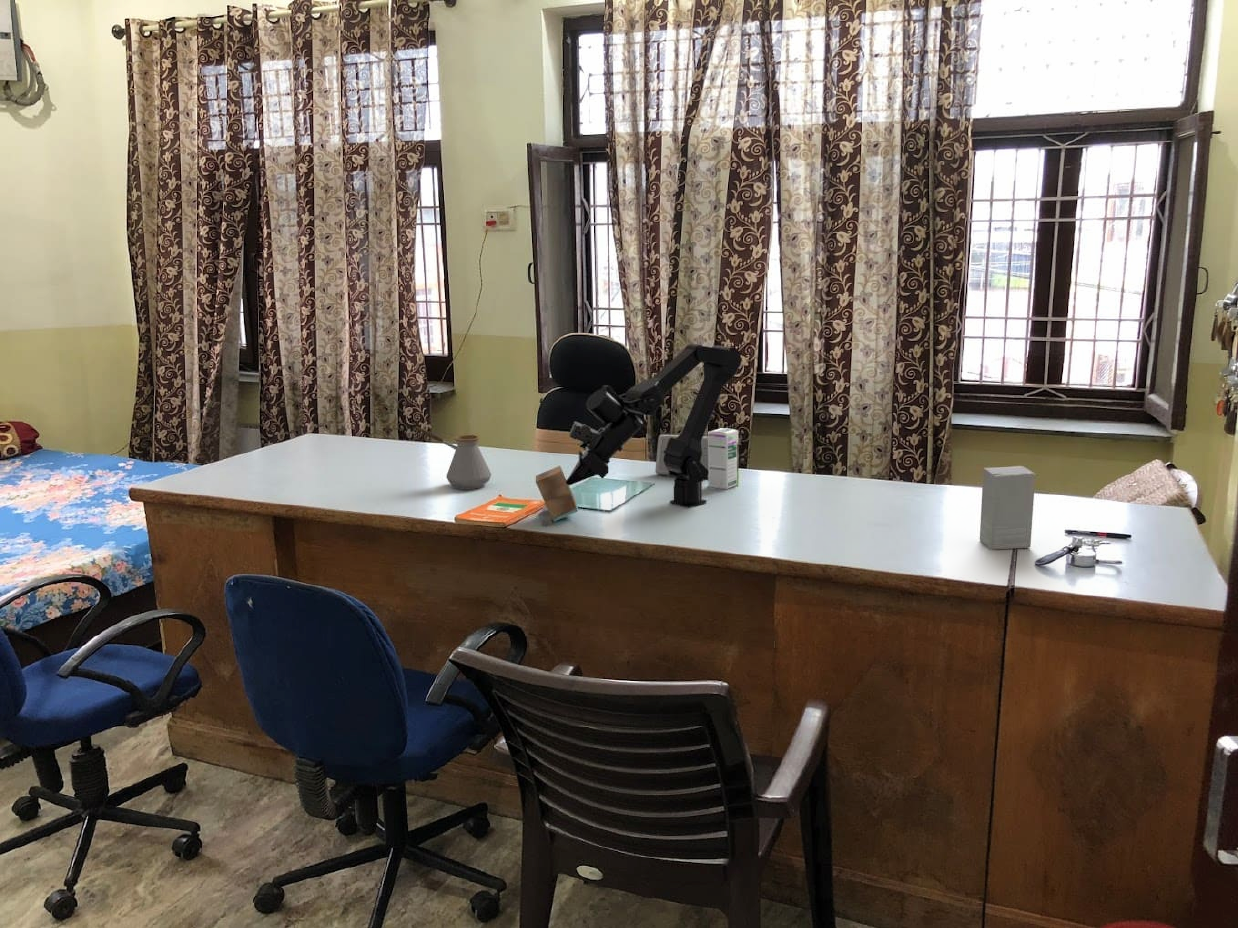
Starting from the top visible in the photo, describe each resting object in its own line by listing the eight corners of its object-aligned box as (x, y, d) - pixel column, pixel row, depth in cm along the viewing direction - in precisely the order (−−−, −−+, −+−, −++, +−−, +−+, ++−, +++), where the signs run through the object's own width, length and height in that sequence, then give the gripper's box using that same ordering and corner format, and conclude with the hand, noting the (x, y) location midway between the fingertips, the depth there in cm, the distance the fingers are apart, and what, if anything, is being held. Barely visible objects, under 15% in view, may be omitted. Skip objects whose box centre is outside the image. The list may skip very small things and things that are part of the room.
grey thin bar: (550, 511, 229) (550, 506, 228) (551, 525, 217) (551, 520, 217) (542, 511, 228) (542, 506, 228) (542, 525, 217) (542, 520, 216)
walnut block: (577, 504, 226) (560, 465, 223) (578, 511, 220) (560, 471, 217) (553, 514, 226) (535, 475, 223) (553, 521, 220) (535, 481, 217)
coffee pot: (499, 482, 257) (497, 426, 254) (478, 493, 247) (475, 434, 244) (429, 477, 265) (426, 422, 262) (405, 486, 254) (401, 430, 251)
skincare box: (1017, 539, 201) (1022, 464, 198) (1032, 550, 194) (1038, 472, 191) (976, 540, 201) (981, 465, 197) (990, 551, 194) (995, 473, 190)
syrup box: (727, 489, 246) (727, 433, 243) (707, 486, 249) (707, 430, 246) (738, 485, 250) (739, 429, 247) (719, 482, 254) (719, 427, 251)
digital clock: (652, 475, 263) (651, 436, 261) (667, 468, 270) (667, 431, 268) (706, 482, 255) (706, 441, 252) (721, 474, 262) (721, 435, 260)
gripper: (588, 403, 227) (541, 451, 228) (592, 416, 209) (541, 468, 210) (622, 436, 229) (575, 483, 231) (629, 452, 211) (578, 503, 213)
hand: (567, 483), depth 221 cm, fingers closed, pressing on walnut block
